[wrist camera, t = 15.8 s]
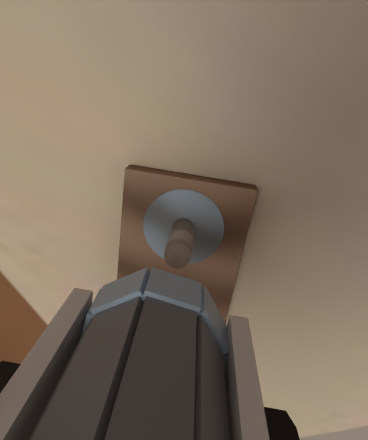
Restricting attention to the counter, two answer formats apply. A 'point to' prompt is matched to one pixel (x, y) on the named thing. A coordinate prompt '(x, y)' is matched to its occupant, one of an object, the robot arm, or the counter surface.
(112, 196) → the counter surface
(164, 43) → the counter surface
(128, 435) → the grey octagonal sleeve
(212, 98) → the counter surface
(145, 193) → the pin board
